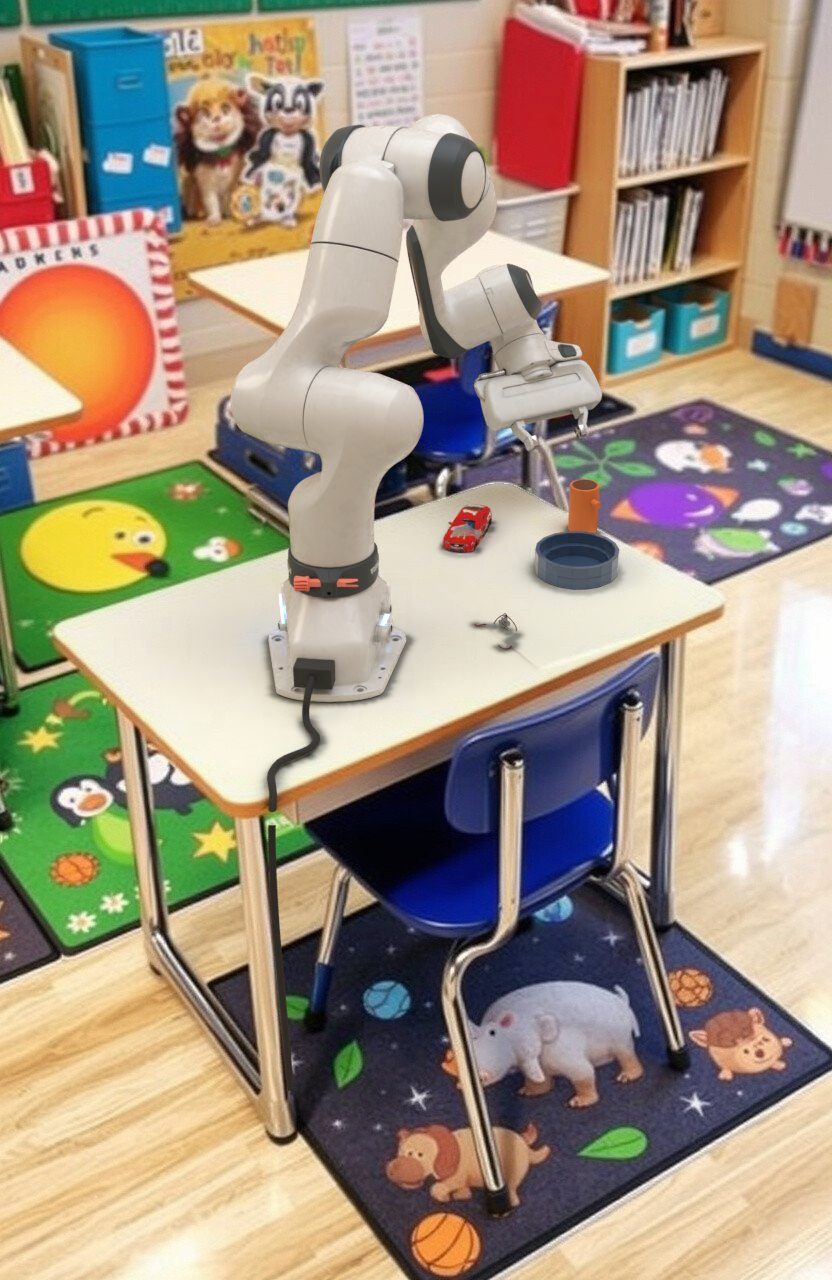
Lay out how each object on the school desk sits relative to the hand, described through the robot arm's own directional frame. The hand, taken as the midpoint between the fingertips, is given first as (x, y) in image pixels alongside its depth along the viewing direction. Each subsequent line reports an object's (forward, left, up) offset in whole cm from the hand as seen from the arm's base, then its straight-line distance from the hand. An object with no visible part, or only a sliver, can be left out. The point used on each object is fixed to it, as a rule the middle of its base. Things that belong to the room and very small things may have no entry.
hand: (559, 442), depth 218 cm
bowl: (-20, -2, -12) cm, 24 cm away
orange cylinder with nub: (-6, -4, -12) cm, 14 cm away
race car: (-8, +14, -13) cm, 21 cm away
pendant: (-38, +10, -13) cm, 42 cm away
